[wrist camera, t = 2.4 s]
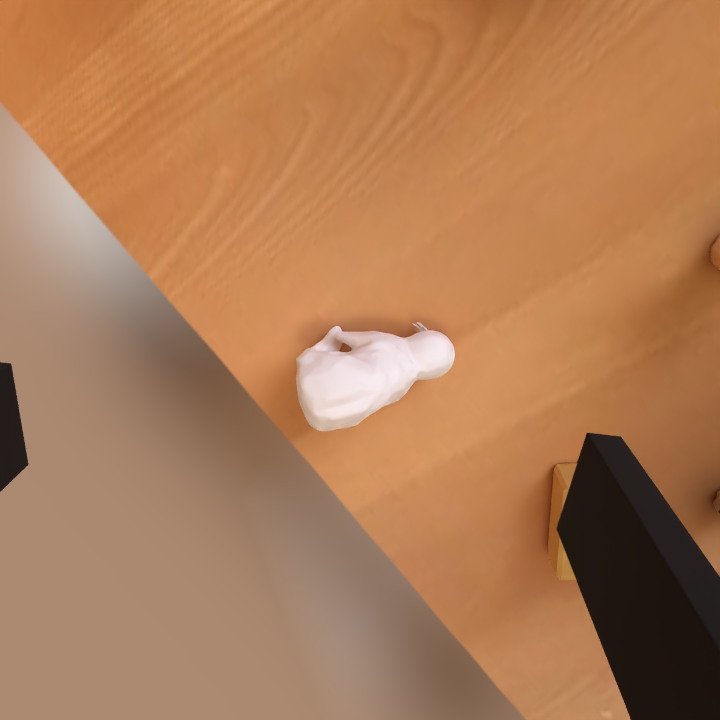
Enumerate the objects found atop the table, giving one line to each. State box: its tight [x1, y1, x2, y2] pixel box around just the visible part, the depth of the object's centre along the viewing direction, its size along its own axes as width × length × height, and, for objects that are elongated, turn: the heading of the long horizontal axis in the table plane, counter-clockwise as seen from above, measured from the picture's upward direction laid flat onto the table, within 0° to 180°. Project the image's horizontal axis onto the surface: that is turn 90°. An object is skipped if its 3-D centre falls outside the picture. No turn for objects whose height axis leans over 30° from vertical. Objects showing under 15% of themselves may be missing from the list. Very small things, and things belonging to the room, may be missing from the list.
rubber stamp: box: [548, 463, 577, 580], centre depth 45 cm, size 10×6×12 cm, turn 4°
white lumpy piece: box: [295, 322, 455, 431], centre depth 42 cm, size 6×8×12 cm
